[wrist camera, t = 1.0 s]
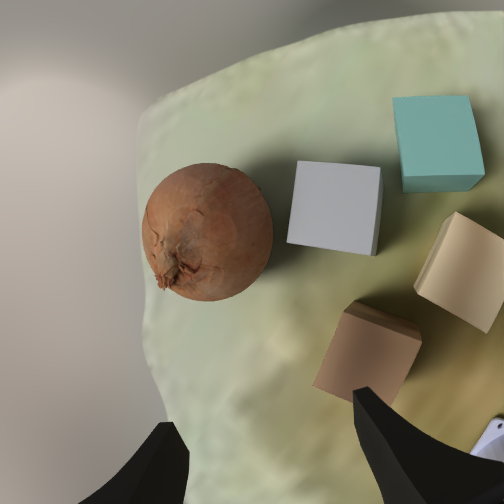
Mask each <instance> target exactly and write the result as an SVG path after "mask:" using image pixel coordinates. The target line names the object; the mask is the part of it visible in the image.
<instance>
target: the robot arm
mask: <svg viewBox="0 0 504 504" xmlns="http://www.w3.org/2000/svg"><path fill="white" fill-rule="evenodd" d="M353 408H354V425H355V428H356V432H357V435H358V438H359V442H360V445H361V447H362V450H363V452H364V454H365V456H366V459H367V461H368V463H369V465H370V468H371V470H372V472H373V474H374V477H375V479H376V481H377V483H378V486H379V488H380V491H381V494H382V497H383V501H384V504H504V419H502V418H498V417H496V418H494V419H492V420H491V422H490V423H489V425H488V426H487V428H486V430H485V431H484V433H483V434H482V436H481V437H480V439H479V440H478V442H477V443H476V445H475V446H474V448H473V449H472V451H471V452H470V453H469V454H468V453H465V452H463V451H460V450H458V449H455V448H453V447H450V446H448V445H446V444H444V443H442V442H440V441H438V440H436V439H434V438H432V437H431V436H429V435H427V434H425V433H424V432H422V431H421V430H419V429H418V428H416V427H415V426H413V425H412V424H410V423H409V422H408V421H406V420H405V419H404V418H403V417H401V416H400V415H399V414H398V413H396V412H395V411H394V410H393V409H392V408H390V407H389V406H388V405H387V404H386V403H385V402H384V401H383V400H382V399H381V398H380V397H379V396H378V395H377V394H376V393H375V392H374V391H373V390H372V389H371V388H370V387H368V386H366V387H363V388H360V389H356V390H353ZM500 423H502V425H501V426H499V427H498V425H499V424H500ZM189 454H190V452H189V450H188V449H187V447H186V445H185V443H184V441H183V440H182V438H181V436H180V434H179V433H178V431H177V429H176V427H175V425H174V423H173V422H160V423H159V424H158V425H157V426H156V427H155V429H154V430H153V431H152V432H151V434H150V435H149V436H148V438H147V439H146V440H145V442H144V443H143V444H142V445H141V447H140V448H139V449H138V451H136V453H135V454H134V455H133V456H132V458H131V459H130V460H129V461H128V462H127V463H126V464H125V465H124V466H123V467H122V468H121V470H120V471H119V472H118V473H117V474H116V475H115V476H114V477H113V478H112V479H111V480H109V481H108V482H107V483H106V484H105V485H104V486H102V487H101V488H100V489H99V490H97V491H96V492H94V493H93V494H92V495H90V496H89V497H87V498H86V499H85V500H83V501H81V502H80V503H78V504H183V501H184V496H185V491H186V485H187V480H188V474H189Z"/></svg>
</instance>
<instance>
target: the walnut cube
mask: <svg viewBox="0 0 504 504" xmlns="http://www.w3.org/2000/svg"><path fill="white" fill-rule="evenodd" d="M421 344H422V338H421V335H420V331H419V328H418V324H415V323H412V322H410V321H407V320H404V319H402V318H399V317H396V316H394V315H391V314H388V313H386V312H383V311H381V310H378V309H375V308H373V307H370V306H367V305H365V304H362V303H359V302H357V301H353V302H352V303H351V304H350V305H349V306H348V307H347V308H346V309H345V310H344V311H343V313H342V316H341V318H340V321H339V324H338V326H337V329H336V331H335V334H334V336H333V339H332V341H331V344H330V346H329V348H328V351H327V353H326V356H325V358H324V360H323V363H322V365H321V367H320V370H319V372H318V374H317V376H316V379H315V381H314V383H313V385H312V386H314V387H316V388H319V389H321V390H323V391H326V392H328V393H330V394H333V395H335V396H337V397H340V398H342V399H345V400H347V401H349V402H352V403H353V390H356V389H360V388H363V387H366V386H368V387H370V388H371V389H372V390H373V391H374V392H375V393H376V394H377V395H378V396H379V397H380V398H381V399H382V400H383V401H384V402H385V403H386V404H387V405H388V406H389V407H391V405H392V403H393V401H394V399H395V398H396V396H397V394H398V392H399V390H400V388H401V386H402V384H403V382H404V380H405V378H406V376H407V374H408V372H409V370H410V368H411V366H412V364H413V362H414V360H415V358H416V355H417V353H418V351H419V349H420V347H421Z"/></svg>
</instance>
